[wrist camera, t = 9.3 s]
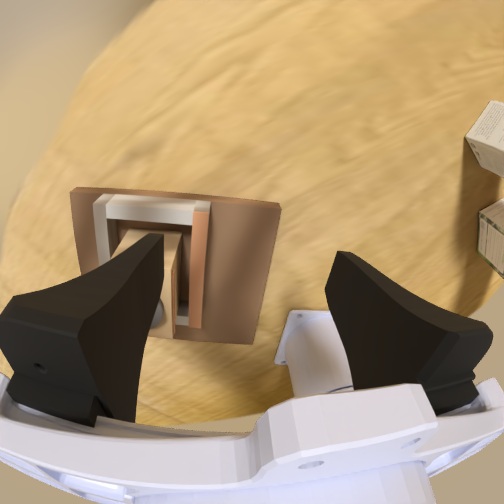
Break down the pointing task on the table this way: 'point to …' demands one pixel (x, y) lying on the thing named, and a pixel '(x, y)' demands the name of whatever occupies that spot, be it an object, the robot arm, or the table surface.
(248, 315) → the board
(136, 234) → the knob block
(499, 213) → the syrup box
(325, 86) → the table surface
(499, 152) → the skincare box
